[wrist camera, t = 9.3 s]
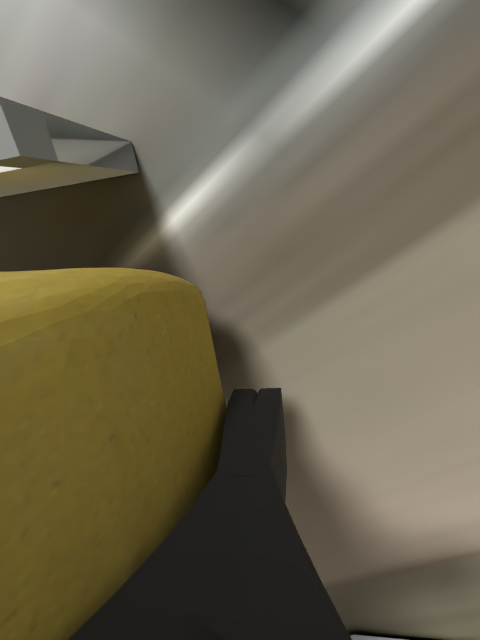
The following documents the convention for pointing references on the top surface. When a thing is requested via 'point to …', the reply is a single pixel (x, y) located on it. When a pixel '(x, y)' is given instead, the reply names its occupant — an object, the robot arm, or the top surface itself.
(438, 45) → the top surface
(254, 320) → the top surface
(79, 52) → the top surface
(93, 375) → the flower pot
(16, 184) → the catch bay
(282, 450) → the robot arm
